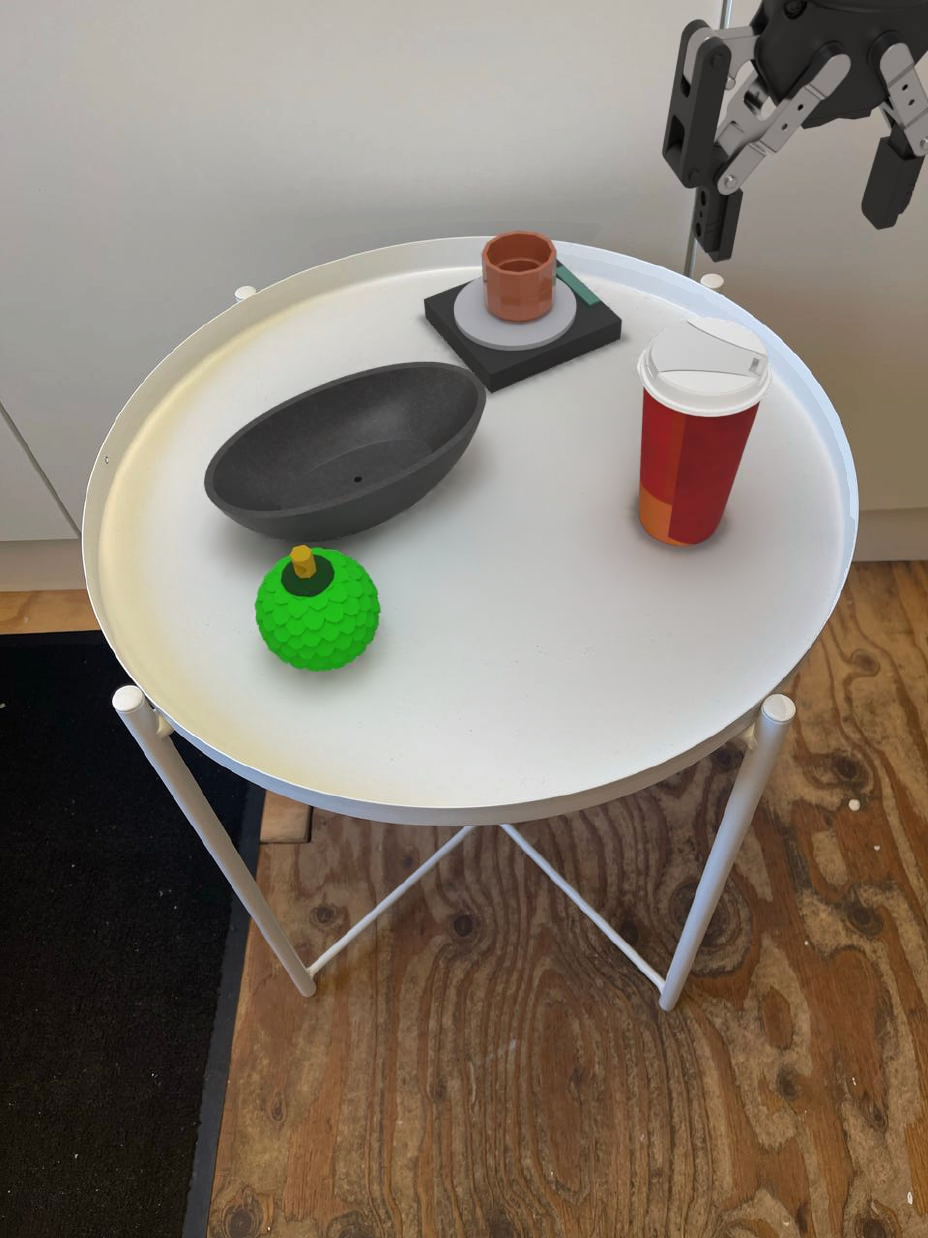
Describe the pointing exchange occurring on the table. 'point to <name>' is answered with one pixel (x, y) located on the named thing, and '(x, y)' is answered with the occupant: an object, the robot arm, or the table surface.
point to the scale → (521, 330)
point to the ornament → (317, 609)
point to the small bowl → (519, 275)
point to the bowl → (347, 451)
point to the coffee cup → (696, 423)
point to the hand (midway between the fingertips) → (796, 236)
